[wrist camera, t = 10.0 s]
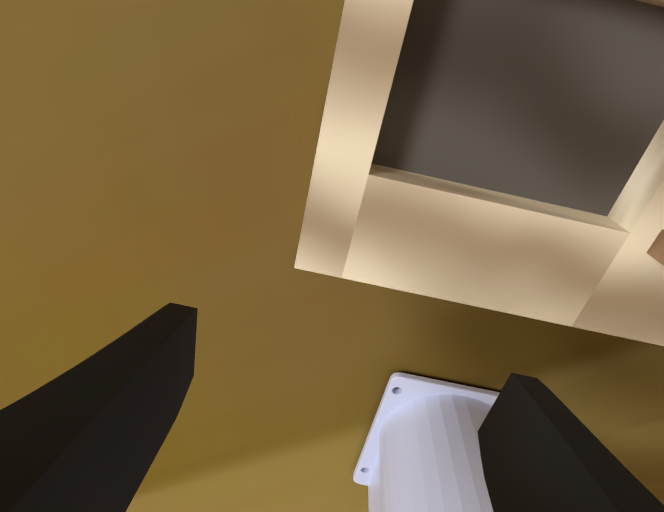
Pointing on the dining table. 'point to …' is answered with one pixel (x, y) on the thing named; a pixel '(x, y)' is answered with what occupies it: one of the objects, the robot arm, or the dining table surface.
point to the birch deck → (497, 158)
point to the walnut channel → (657, 248)
